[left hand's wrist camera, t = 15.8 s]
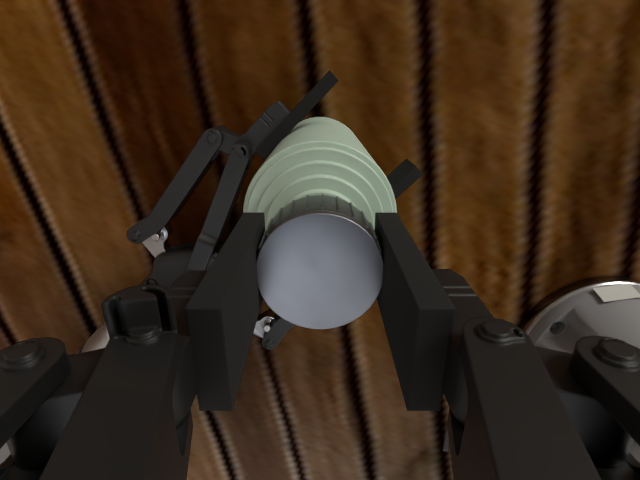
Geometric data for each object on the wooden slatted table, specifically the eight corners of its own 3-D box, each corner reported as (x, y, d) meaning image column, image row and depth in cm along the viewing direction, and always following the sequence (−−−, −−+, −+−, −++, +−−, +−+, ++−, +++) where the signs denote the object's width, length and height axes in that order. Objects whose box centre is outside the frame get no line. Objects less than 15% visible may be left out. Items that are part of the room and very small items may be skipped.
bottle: (272, 120, 30) (193, 171, 11) (360, 113, 30) (429, 153, 11) (282, 205, 33) (231, 361, 14) (364, 199, 32) (424, 349, 14)
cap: (241, 261, 14) (228, 289, 12) (304, 169, 13) (301, 183, 11) (332, 315, 15) (334, 350, 13) (399, 234, 14) (413, 259, 12)
